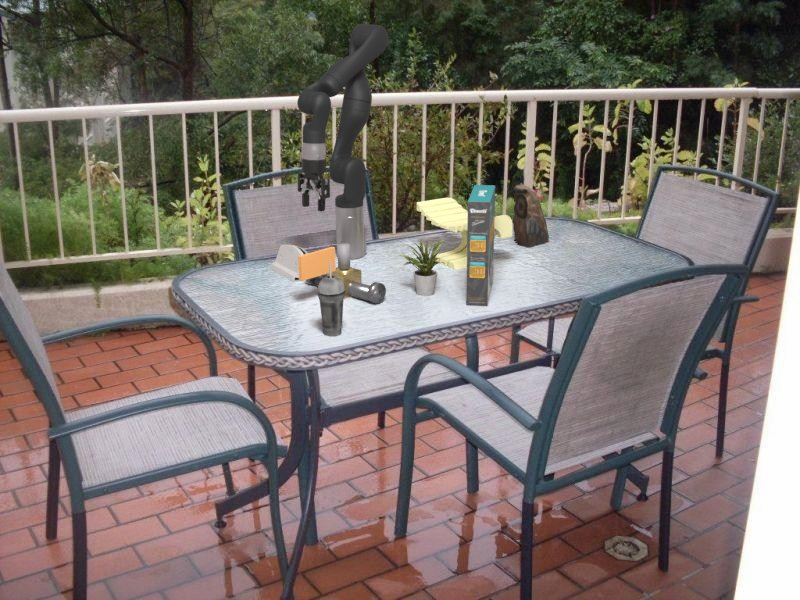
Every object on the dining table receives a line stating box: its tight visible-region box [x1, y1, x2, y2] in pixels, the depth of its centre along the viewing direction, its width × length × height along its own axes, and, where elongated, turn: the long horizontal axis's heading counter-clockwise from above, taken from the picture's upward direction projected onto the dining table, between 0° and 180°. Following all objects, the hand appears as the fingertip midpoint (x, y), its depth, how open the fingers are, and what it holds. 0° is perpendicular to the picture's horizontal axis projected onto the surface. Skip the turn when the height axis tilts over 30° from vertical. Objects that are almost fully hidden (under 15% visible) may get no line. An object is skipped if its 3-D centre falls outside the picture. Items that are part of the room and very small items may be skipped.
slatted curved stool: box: [416, 197, 513, 270], centre depth 301 cm, size 30×16×18 cm, turn 34°
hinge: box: [269, 244, 309, 283], centre depth 291 cm, size 17×5×10 cm, turn 33°
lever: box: [298, 243, 351, 282], centre depth 264 cm, size 19×4×7 cm, turn 138°
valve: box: [305, 266, 387, 305], centre depth 271 cm, size 7×28×8 cm, turn 48°
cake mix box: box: [465, 184, 496, 307], centre depth 267 cm, size 22×6×30 cm, turn 171°
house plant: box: [399, 238, 445, 297], centre depth 271 cm, size 14×14×16 cm
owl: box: [512, 182, 550, 249], centre depth 321 cm, size 13×13×20 cm
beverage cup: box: [316, 261, 345, 337], centre depth 239 cm, size 7×7×20 cm
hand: (313, 208), depth 291 cm, fingers open, 8 cm apart
